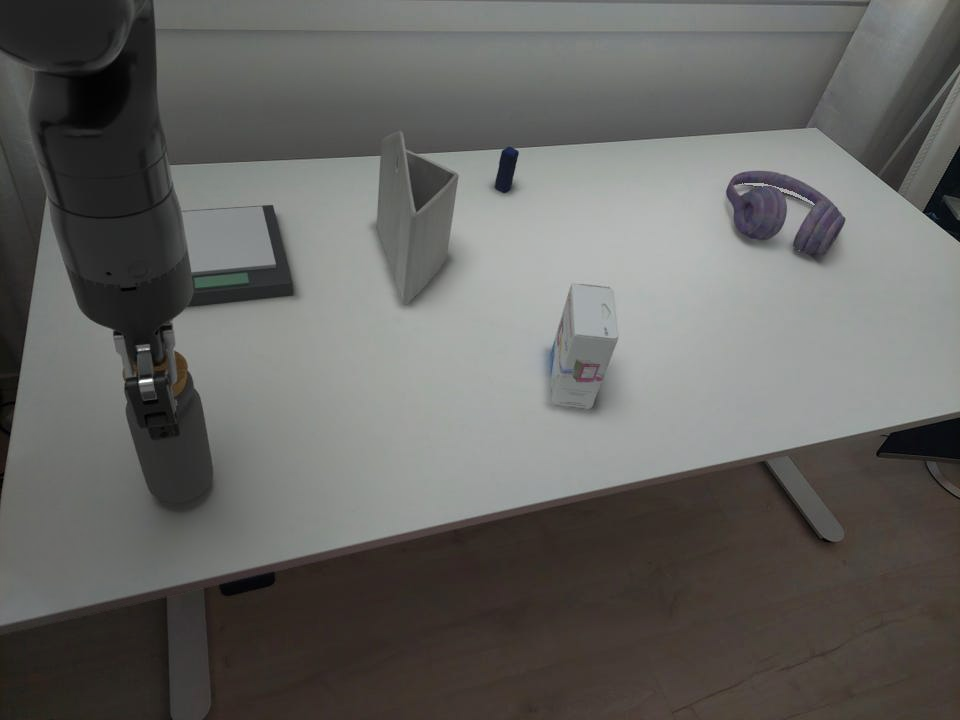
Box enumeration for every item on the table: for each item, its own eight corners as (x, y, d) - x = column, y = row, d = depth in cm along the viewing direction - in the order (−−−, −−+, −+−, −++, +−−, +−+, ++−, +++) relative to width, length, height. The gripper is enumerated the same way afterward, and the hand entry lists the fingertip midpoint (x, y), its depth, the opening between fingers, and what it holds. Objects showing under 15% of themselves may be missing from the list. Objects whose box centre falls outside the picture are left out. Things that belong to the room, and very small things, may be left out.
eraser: (492, 188, 111) (500, 149, 106) (501, 183, 112) (509, 144, 107) (503, 195, 110) (512, 156, 105) (512, 189, 112) (520, 150, 107)
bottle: (181, 441, 69) (157, 331, 59) (227, 472, 68) (211, 365, 57) (131, 481, 66) (96, 372, 55) (179, 515, 64) (152, 409, 53)
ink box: (547, 352, 88) (571, 279, 80) (587, 357, 89) (614, 285, 80) (549, 405, 82) (575, 332, 74) (592, 410, 83) (622, 339, 74)
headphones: (839, 272, 109) (818, 218, 125) (867, 224, 104) (841, 174, 120) (721, 239, 110) (715, 190, 126) (743, 190, 105) (734, 145, 121)
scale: (152, 311, 83) (148, 293, 81) (146, 227, 93) (142, 209, 91) (293, 296, 88) (292, 278, 86) (273, 217, 98) (272, 200, 96)
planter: (462, 299, 92) (486, 169, 78) (402, 306, 90) (416, 172, 76) (430, 223, 102) (446, 95, 89) (375, 226, 100) (383, 96, 86)
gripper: (63, 183, 50) (112, 349, 62) (56, 325, 41) (114, 486, 54) (178, 178, 53) (204, 338, 65) (195, 311, 44) (220, 468, 56)
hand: (163, 404), depth 59 cm, fingers closed on bottle, 5 cm apart
